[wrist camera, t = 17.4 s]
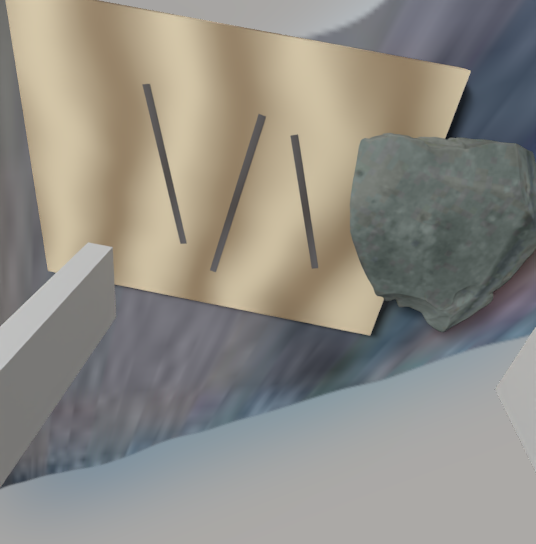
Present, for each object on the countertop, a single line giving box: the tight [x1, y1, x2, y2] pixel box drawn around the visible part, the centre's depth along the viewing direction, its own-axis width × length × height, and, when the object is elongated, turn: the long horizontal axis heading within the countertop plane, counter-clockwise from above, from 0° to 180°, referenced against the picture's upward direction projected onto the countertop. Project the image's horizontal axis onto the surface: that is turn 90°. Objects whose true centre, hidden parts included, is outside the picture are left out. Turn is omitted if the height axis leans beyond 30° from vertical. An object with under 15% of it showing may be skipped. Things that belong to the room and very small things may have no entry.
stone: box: [350, 133, 536, 332], centre depth 21 cm, size 11×4×10 cm
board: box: [6, 0, 471, 335], centre depth 24 cm, size 22×16×2 cm
